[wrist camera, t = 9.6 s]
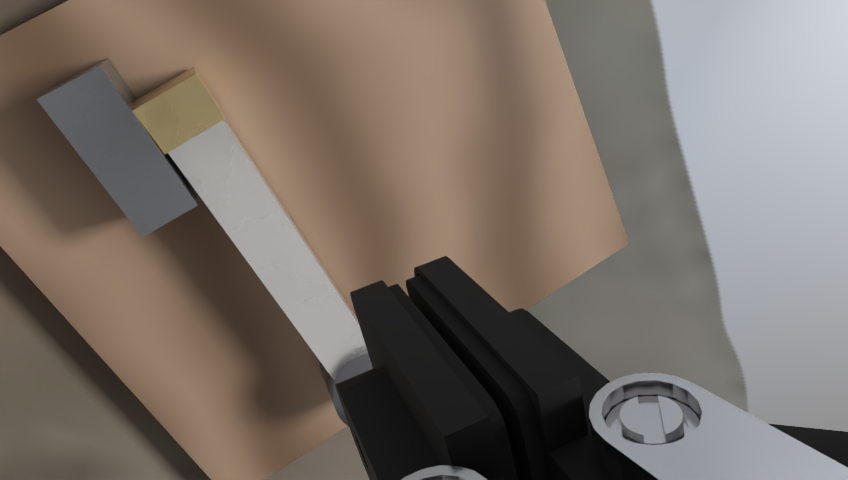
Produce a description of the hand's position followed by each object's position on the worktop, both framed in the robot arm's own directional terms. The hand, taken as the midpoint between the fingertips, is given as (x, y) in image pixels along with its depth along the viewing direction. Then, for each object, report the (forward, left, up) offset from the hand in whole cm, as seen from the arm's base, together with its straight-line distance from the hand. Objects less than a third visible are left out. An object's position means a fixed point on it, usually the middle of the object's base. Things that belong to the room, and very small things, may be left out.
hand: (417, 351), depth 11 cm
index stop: (-4, +3, -17) cm, 18 cm away
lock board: (+1, -2, -17) cm, 17 cm away
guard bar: (-2, -3, -15) cm, 16 cm away
